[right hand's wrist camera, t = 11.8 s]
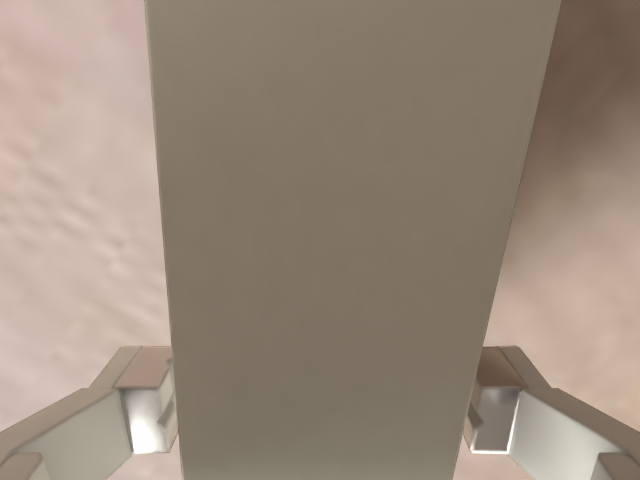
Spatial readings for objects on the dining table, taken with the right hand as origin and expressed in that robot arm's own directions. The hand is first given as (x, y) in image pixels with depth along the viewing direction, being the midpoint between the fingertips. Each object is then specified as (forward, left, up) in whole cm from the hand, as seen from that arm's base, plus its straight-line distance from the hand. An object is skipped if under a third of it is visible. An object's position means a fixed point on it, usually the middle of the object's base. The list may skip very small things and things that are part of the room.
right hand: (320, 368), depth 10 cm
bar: (-3, +8, -4) cm, 10 cm away
